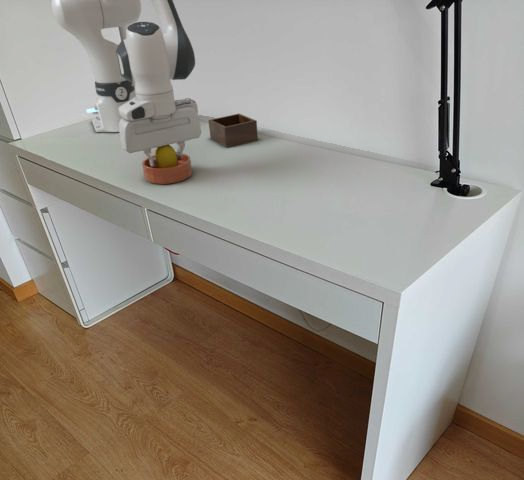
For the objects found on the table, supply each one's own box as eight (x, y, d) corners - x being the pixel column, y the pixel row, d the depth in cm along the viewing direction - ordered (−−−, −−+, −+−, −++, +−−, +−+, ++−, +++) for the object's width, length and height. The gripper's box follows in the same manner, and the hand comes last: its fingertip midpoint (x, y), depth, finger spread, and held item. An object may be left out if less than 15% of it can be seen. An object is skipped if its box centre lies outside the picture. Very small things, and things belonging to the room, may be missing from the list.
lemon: (182, 175, 128) (177, 143, 123) (161, 180, 126) (155, 147, 121) (176, 169, 132) (171, 137, 127) (155, 173, 130) (149, 141, 125)
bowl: (138, 174, 131) (135, 159, 129) (180, 164, 136) (178, 149, 133) (155, 188, 123) (152, 172, 120) (200, 177, 127) (198, 161, 125)
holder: (210, 139, 152) (208, 120, 149) (240, 132, 156) (239, 113, 153) (226, 147, 145) (224, 127, 142) (257, 140, 149) (256, 120, 145)
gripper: (190, 94, 124) (198, 151, 133) (111, 109, 117) (124, 168, 126) (201, 98, 120) (208, 157, 129) (120, 114, 113) (133, 175, 121)
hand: (166, 162), depth 127 cm, fingers closed on lemon, 5 cm apart
